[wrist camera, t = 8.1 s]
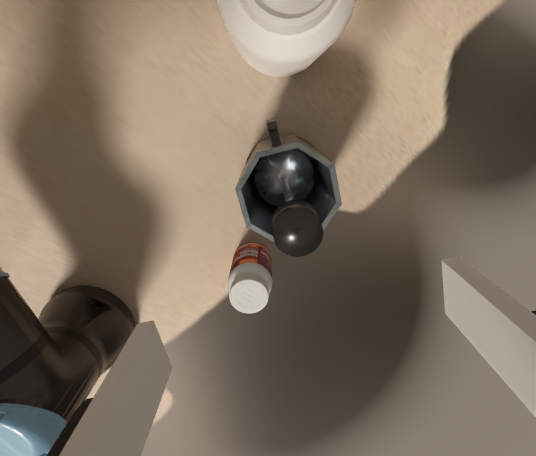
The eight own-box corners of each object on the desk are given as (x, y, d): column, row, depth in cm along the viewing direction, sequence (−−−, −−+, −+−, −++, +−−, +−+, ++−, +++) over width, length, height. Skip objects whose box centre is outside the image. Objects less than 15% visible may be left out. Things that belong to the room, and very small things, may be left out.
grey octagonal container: (255, 220, 52) (252, 253, 41) (230, 129, 48) (218, 136, 36) (329, 202, 51) (348, 231, 40) (311, 107, 47) (325, 108, 35)
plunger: (263, 211, 50) (260, 290, 29) (248, 155, 48) (232, 196, 26) (318, 197, 50) (358, 268, 28) (306, 140, 47) (341, 169, 25)
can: (283, 98, 47) (295, 93, 28) (211, 29, 44) (169, -28, 25) (349, 18, 43) (412, -48, 25) (275, -61, 41) (283, -205, 22)
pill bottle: (256, 234, 53) (254, 266, 43) (279, 263, 55) (282, 301, 44) (225, 255, 54) (215, 291, 44) (248, 283, 56) (244, 324, 45)
